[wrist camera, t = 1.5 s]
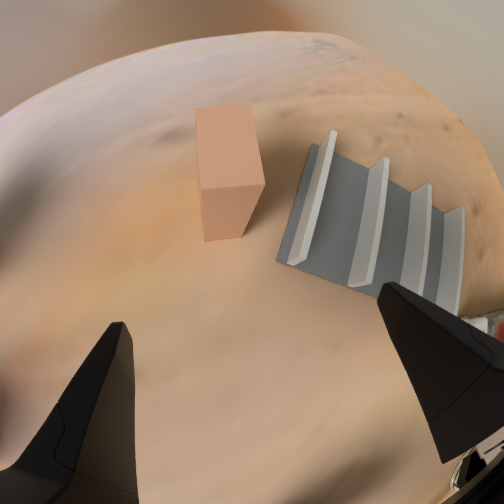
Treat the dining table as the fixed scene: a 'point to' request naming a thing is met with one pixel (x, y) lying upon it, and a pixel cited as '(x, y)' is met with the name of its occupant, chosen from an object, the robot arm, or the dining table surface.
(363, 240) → the rack
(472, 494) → the robot arm
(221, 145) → the salmon rectangular block
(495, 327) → the juice carton
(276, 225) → the dining table surface
